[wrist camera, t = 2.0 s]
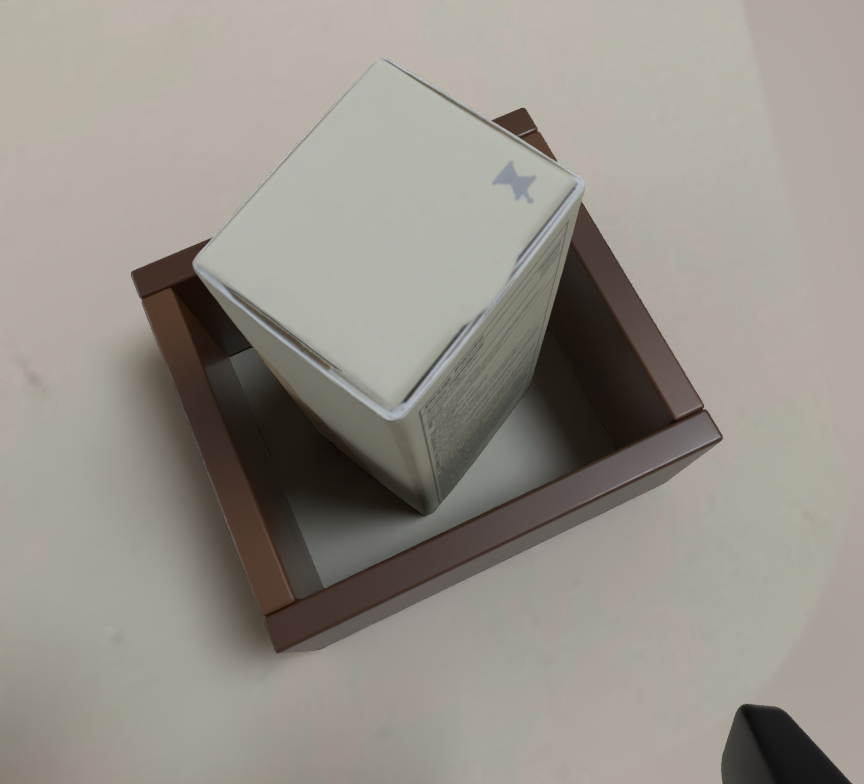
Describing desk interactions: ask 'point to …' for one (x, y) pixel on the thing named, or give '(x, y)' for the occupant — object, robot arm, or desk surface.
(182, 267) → the holder
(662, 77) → the desk surface
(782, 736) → the robot arm
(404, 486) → the box
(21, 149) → the desk surface
